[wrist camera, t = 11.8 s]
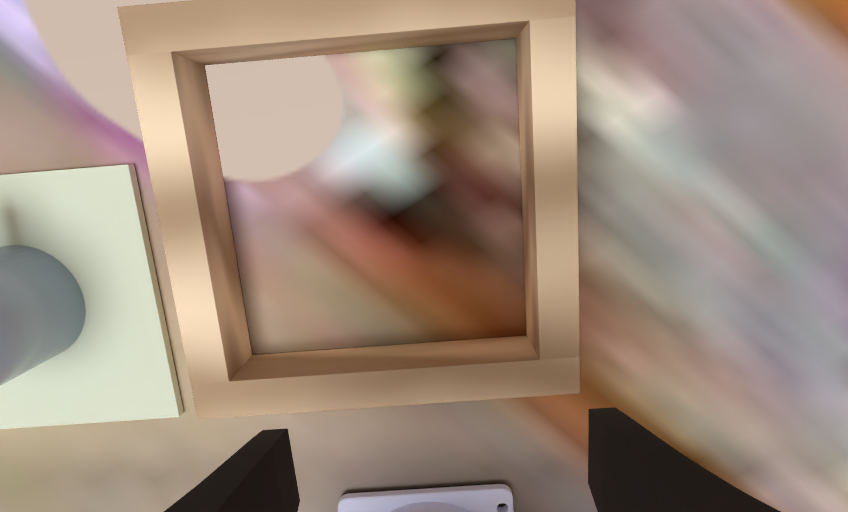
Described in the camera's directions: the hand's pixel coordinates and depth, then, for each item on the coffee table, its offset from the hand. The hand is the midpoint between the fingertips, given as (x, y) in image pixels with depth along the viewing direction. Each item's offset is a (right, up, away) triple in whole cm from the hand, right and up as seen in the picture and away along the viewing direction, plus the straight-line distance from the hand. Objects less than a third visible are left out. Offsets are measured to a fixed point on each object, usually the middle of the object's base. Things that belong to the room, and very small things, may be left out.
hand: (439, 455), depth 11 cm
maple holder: (-2, +7, +8) cm, 11 cm away
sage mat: (-17, +3, +9) cm, 20 cm away
